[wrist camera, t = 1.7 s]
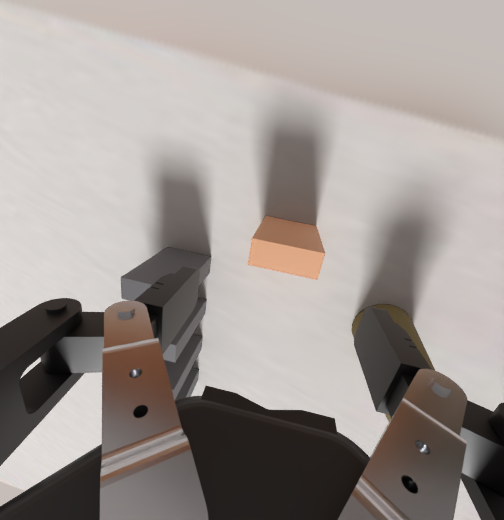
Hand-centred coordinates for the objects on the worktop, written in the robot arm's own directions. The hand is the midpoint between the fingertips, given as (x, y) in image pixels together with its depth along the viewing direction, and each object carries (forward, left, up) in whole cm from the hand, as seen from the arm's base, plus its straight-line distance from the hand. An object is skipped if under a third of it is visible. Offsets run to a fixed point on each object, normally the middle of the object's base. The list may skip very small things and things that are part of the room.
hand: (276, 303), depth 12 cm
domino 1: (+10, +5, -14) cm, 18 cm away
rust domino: (0, 0, -14) cm, 14 cm away
